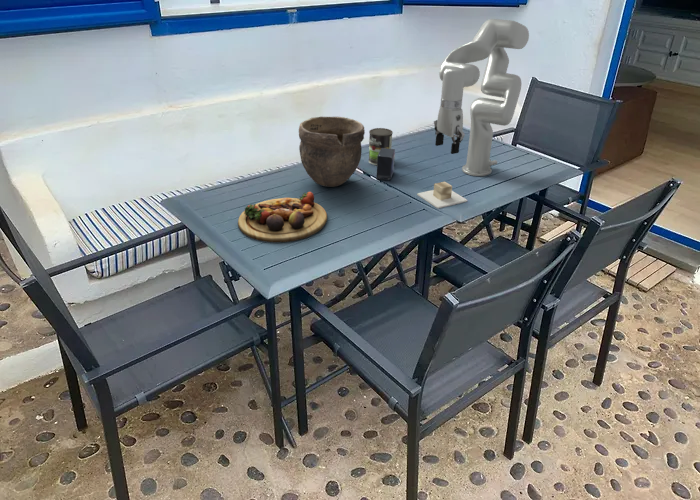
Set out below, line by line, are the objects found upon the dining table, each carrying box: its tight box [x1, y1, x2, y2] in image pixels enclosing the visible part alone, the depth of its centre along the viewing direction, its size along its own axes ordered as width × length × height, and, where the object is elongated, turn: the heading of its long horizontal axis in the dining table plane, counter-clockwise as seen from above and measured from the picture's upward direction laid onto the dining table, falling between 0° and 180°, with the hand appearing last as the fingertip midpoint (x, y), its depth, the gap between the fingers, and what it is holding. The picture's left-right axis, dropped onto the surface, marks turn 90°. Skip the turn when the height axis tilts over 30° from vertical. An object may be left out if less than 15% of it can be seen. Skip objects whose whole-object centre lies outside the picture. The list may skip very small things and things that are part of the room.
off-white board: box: [416, 189, 468, 209], centre depth 214 cm, size 14×14×1 cm
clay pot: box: [298, 116, 366, 188], centre depth 220 cm, size 26×26×25 cm
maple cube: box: [433, 181, 453, 200], centre depth 213 cm, size 5×5×5 cm
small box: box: [375, 148, 396, 181], centre depth 231 cm, size 11×6×10 cm, turn 168°
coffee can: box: [368, 127, 394, 166], centre depth 244 cm, size 10×10×14 cm
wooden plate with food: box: [237, 191, 328, 243], centre depth 195 cm, size 32×32×8 cm
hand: (446, 149), depth 204 cm, fingers open, 9 cm apart
